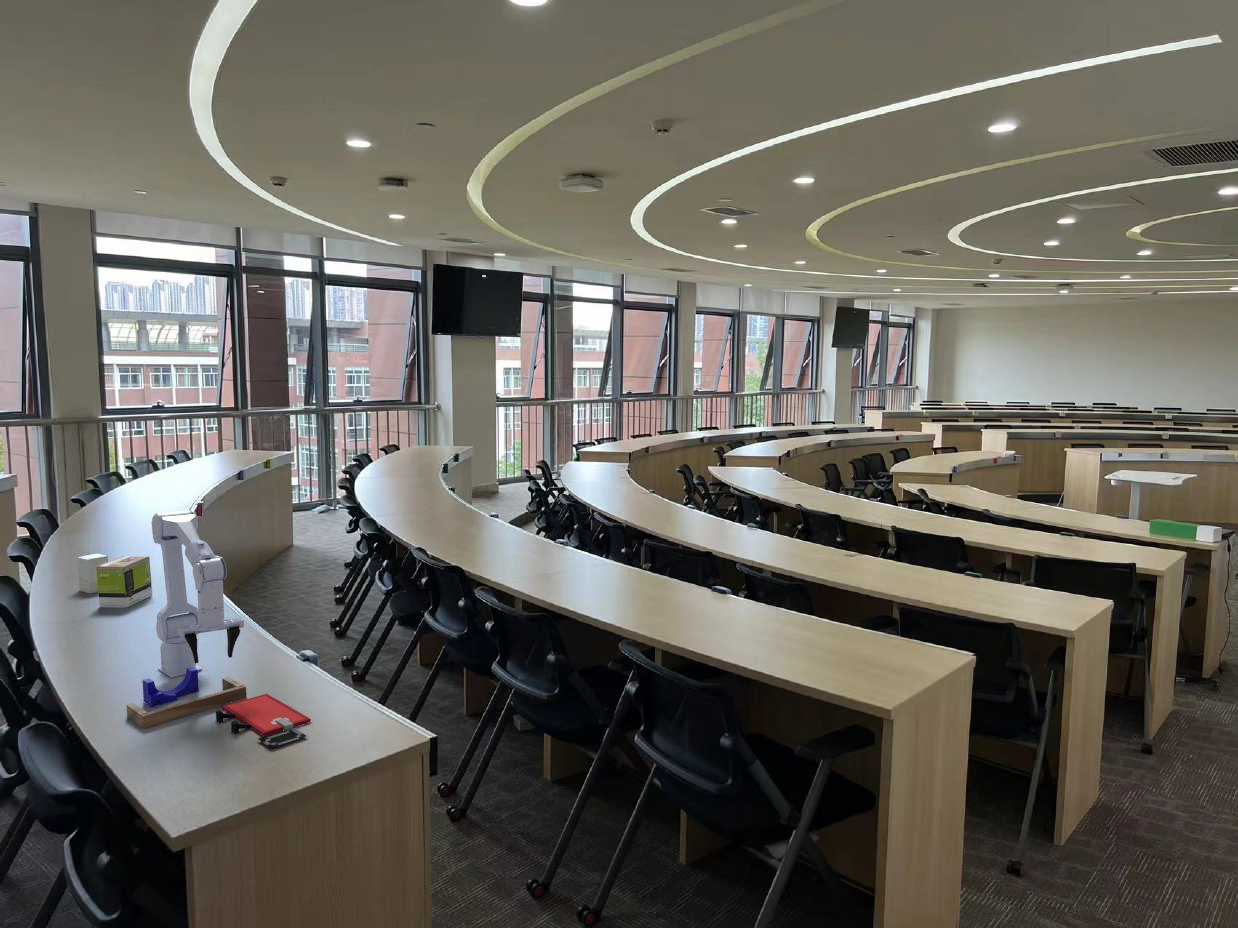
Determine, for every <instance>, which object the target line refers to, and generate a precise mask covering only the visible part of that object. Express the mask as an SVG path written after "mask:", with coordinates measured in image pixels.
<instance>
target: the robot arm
mask: <svg viewBox="0 0 1238 928" xmlns="http://www.w3.org/2000/svg"><path fill="white" fill-rule="evenodd" d="M198 527H199V519H198V515H197V513H196V511H194V509H188V510H181V511H170V512H160V513H159V512H155V514H153V516H152V518H151V532H152V539H153V542H154V544H157V545H160V548H161V553H162V554H161V555H162V562H163V563H162V565H163V572H164V583H165V592H166V601H167V602H166V605H165V606H163V607H162V608H161V609H160V610H159V611H158V612H157V614H156V627H155V628H156V635H157V637H158V639H159V640H160V641H161V643H160V648H159V649H160V664H161V665H160V666H159V667H157V670H158V671H160V672H162V673H164V674H165V675H167V676H168V677H170V678H176V677H180V676H185V675H186V668H190V667H194V668H196V669H198V672H200V671H202V670H203V668H202V667H200V666H199V665H197V664H199V654H198V638H197V637H198V635H199V634H203V633H209V632H215V631H224V630H226V637H227V649H226V650H227V656H228V658H233V652H234V648H235V645H236V642H237V640H238V637H239V636H240V634H241V629H242V628H245V620H244V618H243V617H241V618H240V617H239V618H227V619H226V618H225V605H224V604H225V603H224V601H225V600H224V580H226V578H227V572H228V571H227V564H226V562H225V559H224V558H223V557H222V556H219V555H215V553H214V552H213V549H211V546H210V545H209V544H208V542H207V541H204V540H201V539H200V536H199V534H198V532H197V531H198ZM183 546H184V547H185V549H184V555H185V557H186V559H187V560H188V562H189V564H190V565H191V567H192V575H193V580H194V586H195V590H196V591H197V605H198V606H195V605H194V604H192V603H191V602H188V595H187V594H188V593H187V588H186V587H187V585H186V584H187V583H186V576H185V566H184V557H183Z"/></svg>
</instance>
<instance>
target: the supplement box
mask: <svg viewBox="0 0 1238 928" xmlns="http://www.w3.org/2000/svg"><path fill="white" fill-rule="evenodd" d="M76 559H77V574H78V575H77V576H78V584H79V585H78V587H79V588H78V589H79V591H80V592H84V593H87V594H93V593H98V584H97V572H96V566H99V565H101V564H104V563H107V562H109V556H108V555H104V554H101V553H93V554H92V553H91V554H89V555H87V554H86V555H83V556H78V557H77V558H76Z"/></svg>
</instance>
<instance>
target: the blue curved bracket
mask: <svg viewBox="0 0 1238 928" xmlns="http://www.w3.org/2000/svg"><path fill="white" fill-rule="evenodd" d="M199 688H200V687H199V671H198V669H196V668H194V667H190V668H186V674H184V677H183V679H182V681H181V682H180V683H179V684H178V685H177V686H175V687H174V688H172V689H169V690H168V689H167V690H159V689H158V688H157V687H156V684H155V680H152V679H151V678H148V677H147V678H145V679H142V698H143V703H144V702H145V703H146V704H145V703H144V704H145V705H147V706H148V705H149V707H150V708H155V707H158V706H161V705H165V704H168V702H169V703H172V702H175V701H178V698H181V697H184V696H187V695H191V694H194V693H199V691H200V690H199ZM164 703H165V704H164ZM157 705H158V706H157Z"/></svg>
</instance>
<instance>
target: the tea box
mask: <svg viewBox="0 0 1238 928" xmlns="http://www.w3.org/2000/svg"><path fill="white" fill-rule="evenodd" d="M150 559H151V558H150V556H145V555H144V556H131V555H130V556H128V555H127V556H126V555H122V556H120V557H117V558H114V559H112V560H108V562H107V563H104V564H101V565H99V566H96V572H97V584H98V592H97V593H98V606H99V608H107V609H109V608H114V609H115V608H116V609H127V608H129V607H131V606H133V605H135V604H137V603H139V602H141V601H143V600H146V599H149V598H150V597H152V596H153V588H152V587H153V586H152V574H151V564H150V563H151V562H150Z"/></svg>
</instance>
